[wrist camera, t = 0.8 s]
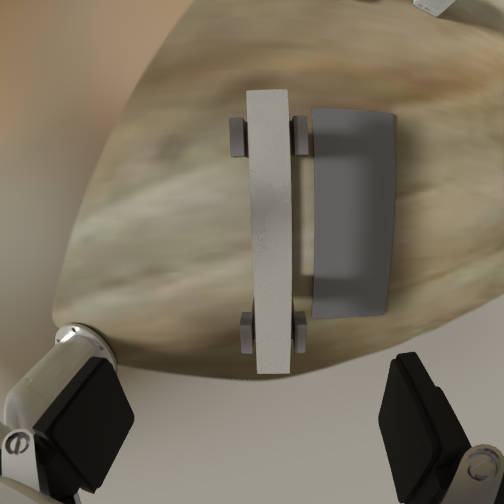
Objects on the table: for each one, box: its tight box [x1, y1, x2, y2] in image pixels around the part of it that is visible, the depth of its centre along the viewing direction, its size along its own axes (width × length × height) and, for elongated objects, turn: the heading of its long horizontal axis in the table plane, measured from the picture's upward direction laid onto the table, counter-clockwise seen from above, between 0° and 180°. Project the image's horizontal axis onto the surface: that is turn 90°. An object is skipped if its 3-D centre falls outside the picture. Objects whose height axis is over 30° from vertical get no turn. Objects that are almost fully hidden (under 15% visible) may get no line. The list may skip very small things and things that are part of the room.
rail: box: [246, 89, 292, 374], centre depth 25 cm, size 24×3×3 cm, turn 1°
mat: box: [312, 108, 395, 319], centre depth 35 cm, size 26×10×1 cm, turn 1°
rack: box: [229, 116, 308, 354], centre depth 30 cm, size 20×6×12 cm, turn 1°
